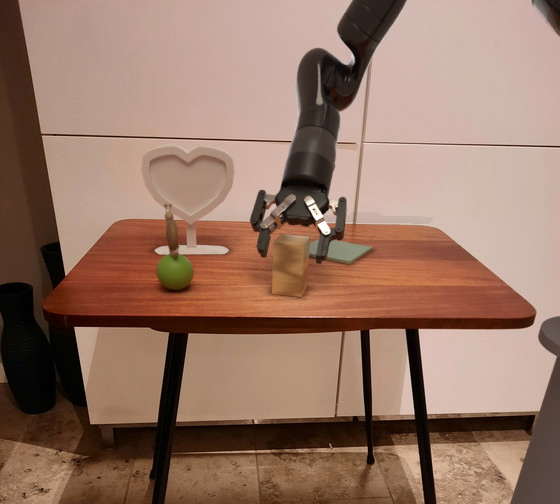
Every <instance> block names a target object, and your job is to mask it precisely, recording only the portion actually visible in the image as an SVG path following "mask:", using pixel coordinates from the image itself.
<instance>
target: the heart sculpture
mask: <svg viewBox="0 0 560 504" xmlns="http://www.w3.org/2000/svg"><path fill="white" fill-rule="evenodd" d="M140 171H141V174H142V178H143V183H144V186H145V188H146V190H147V191H148V193H149V194H150V195H151V197H152V198H153V200H154V201H155V202H156V203H157V204H159V205H160V206H161V207H162V208H163V209H165V211H167V212H170V207H169V203H171V204H172V207H171V213H172V214H173V216H176V217H177V218H179V219H181V220H183V221H184V222H185V230H186V244H179V249H178V252H179V254H181V255H225V254H227V253H229V251H230V249H228V248H227V247H226V246H222V245H211V244H210V245H209V244H197V224H196V223H197V221H198V220H200V219H202V218H203V217H205V216H207V215H208V214H210V213H212V212H214V210H216V208H218V207H219V206H220V205H221V204H222V203H224V201H225V200H226V198H227V196H228V195H229V193H230V191H231V190H232V188H233V184H234V176H235V166H234V160H233V157H232V155H231V154H230V153H229V152H228V151H226V150H225V149H223V148H220V147H217V146H214V145H211V144H203V143H201V144H197V145H194V146H192V147H191V148H190V149H186V148H185V147H184V146H182V145H180V144H177V143H166V144H165V143H164V144H161V145H156V146H154V147H152V148H149V149H147V151H146V152H145V153H144V154H143V155H142V157H141V169H140ZM165 203H166V204H167V205H168V206H167V207H164V204H165ZM154 253H156V254H158V255H159V256H160V255H164V256H165V255H168V254H170V252H169V248H168V245H161V246H159V247H157V248H155V249H154Z"/></svg>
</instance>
